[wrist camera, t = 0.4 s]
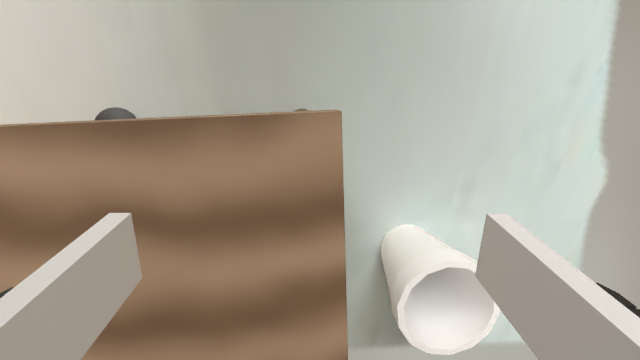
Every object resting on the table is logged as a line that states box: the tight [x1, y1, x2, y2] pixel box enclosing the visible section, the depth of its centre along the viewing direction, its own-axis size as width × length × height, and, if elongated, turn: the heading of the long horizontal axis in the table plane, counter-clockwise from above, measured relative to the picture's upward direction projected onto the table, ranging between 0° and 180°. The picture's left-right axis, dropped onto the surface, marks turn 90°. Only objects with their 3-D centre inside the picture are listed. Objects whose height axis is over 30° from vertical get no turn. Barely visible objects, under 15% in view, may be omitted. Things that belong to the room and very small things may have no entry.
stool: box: [0, 108, 348, 360], centre depth 32 cm, size 24×24×20 cm
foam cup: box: [381, 224, 500, 355], centre depth 38 cm, size 10×9×13 cm
